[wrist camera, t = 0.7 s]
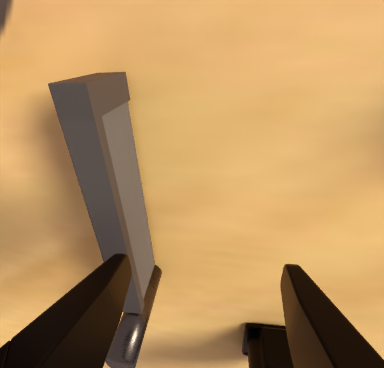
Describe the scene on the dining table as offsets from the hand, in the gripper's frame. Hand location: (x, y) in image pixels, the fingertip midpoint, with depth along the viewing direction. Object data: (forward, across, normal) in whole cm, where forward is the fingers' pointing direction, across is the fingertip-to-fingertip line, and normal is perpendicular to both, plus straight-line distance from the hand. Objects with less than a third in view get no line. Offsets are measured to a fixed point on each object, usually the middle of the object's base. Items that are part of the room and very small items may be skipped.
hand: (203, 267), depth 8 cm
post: (+12, +7, +15) cm, 20 cm away
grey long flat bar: (+11, +7, +4) cm, 14 cm away
